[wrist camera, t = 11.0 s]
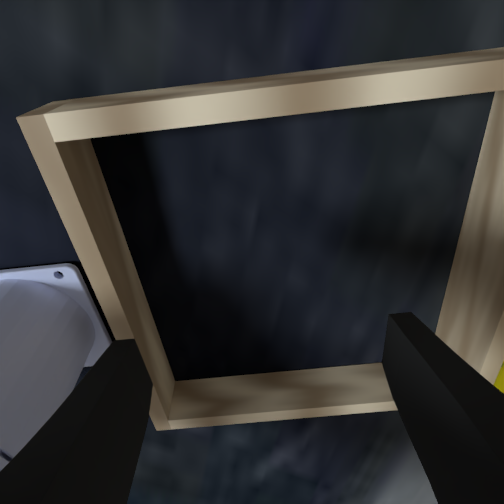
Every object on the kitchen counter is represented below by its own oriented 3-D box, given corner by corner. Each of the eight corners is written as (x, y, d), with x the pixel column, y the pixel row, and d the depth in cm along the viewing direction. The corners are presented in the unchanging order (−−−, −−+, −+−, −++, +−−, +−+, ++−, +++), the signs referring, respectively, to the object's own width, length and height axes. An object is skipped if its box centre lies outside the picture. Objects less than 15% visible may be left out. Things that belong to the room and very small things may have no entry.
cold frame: (164, 391, 26) (151, 453, 22) (53, 101, 15) (-9, 127, 11) (440, 366, 25) (475, 426, 22) (531, 43, 14) (633, 52, 11)
